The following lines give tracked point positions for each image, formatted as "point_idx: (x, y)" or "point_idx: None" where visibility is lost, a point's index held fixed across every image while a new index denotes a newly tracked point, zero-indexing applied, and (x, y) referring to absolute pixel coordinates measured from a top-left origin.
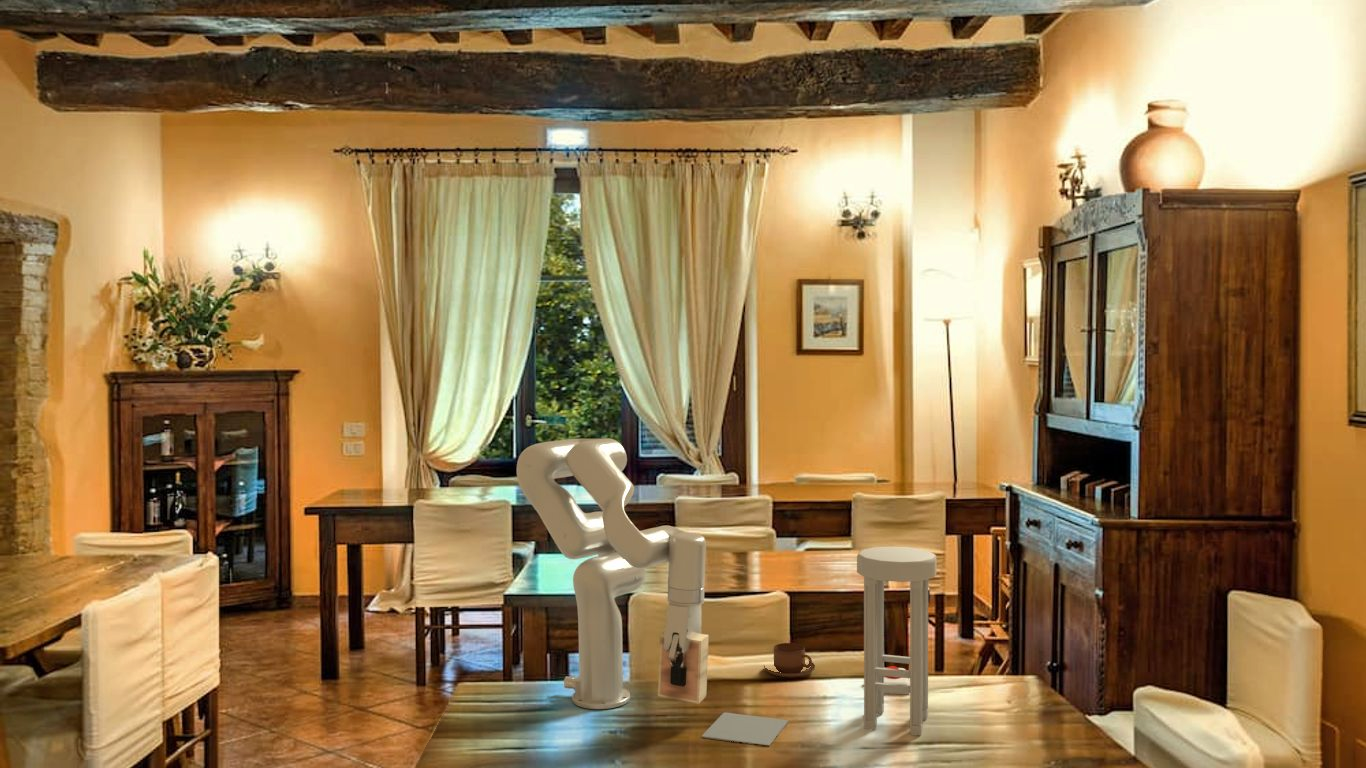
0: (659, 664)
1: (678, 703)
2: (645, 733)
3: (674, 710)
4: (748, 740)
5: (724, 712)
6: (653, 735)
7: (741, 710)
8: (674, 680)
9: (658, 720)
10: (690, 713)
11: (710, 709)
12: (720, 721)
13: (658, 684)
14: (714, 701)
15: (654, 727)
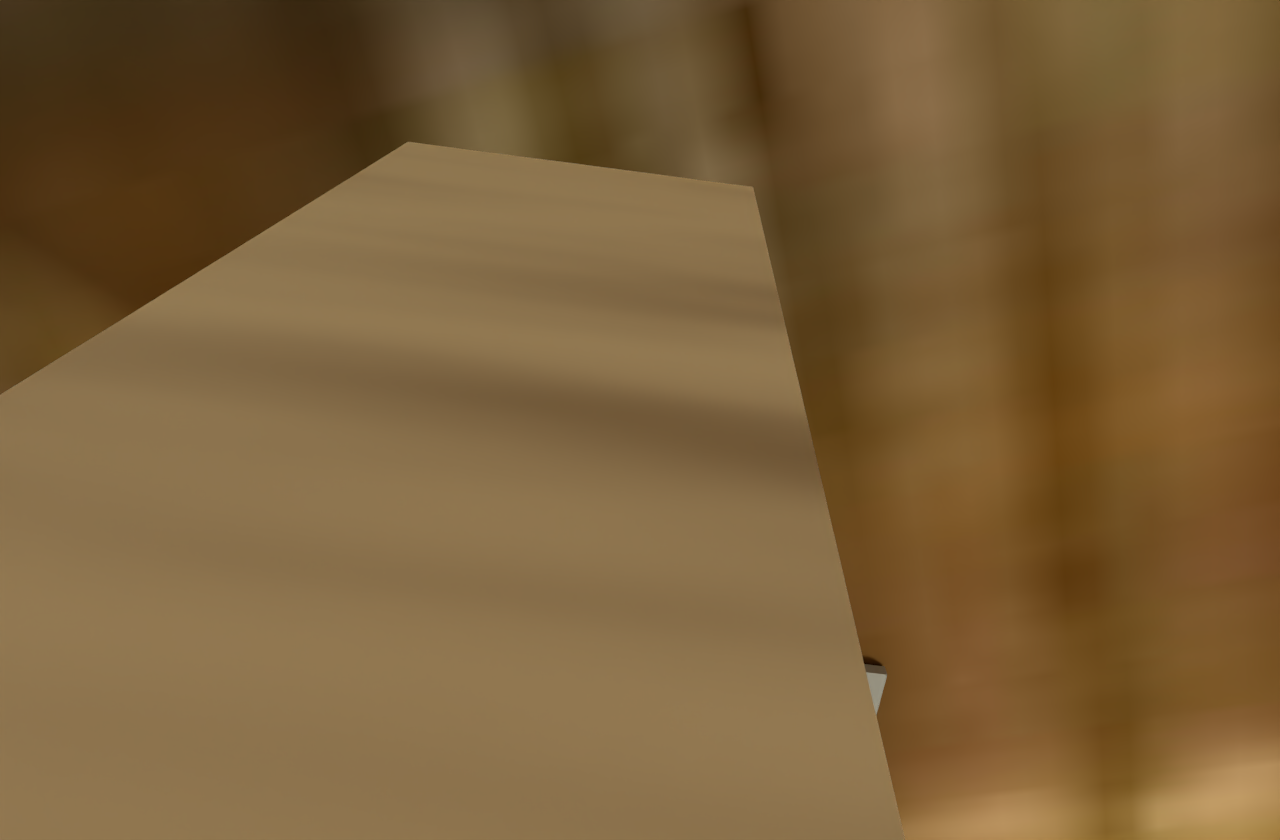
0: (123, 336)
1: (1165, 176)
2: (161, 43)
3: (925, 187)
4: None
5: (882, 679)
6: (144, 149)
7: (987, 778)
8: None
9: (578, 83)
10: (853, 377)
11: (991, 537)
12: None
13: (345, 185)
14: (1231, 532)
15: (362, 96)
